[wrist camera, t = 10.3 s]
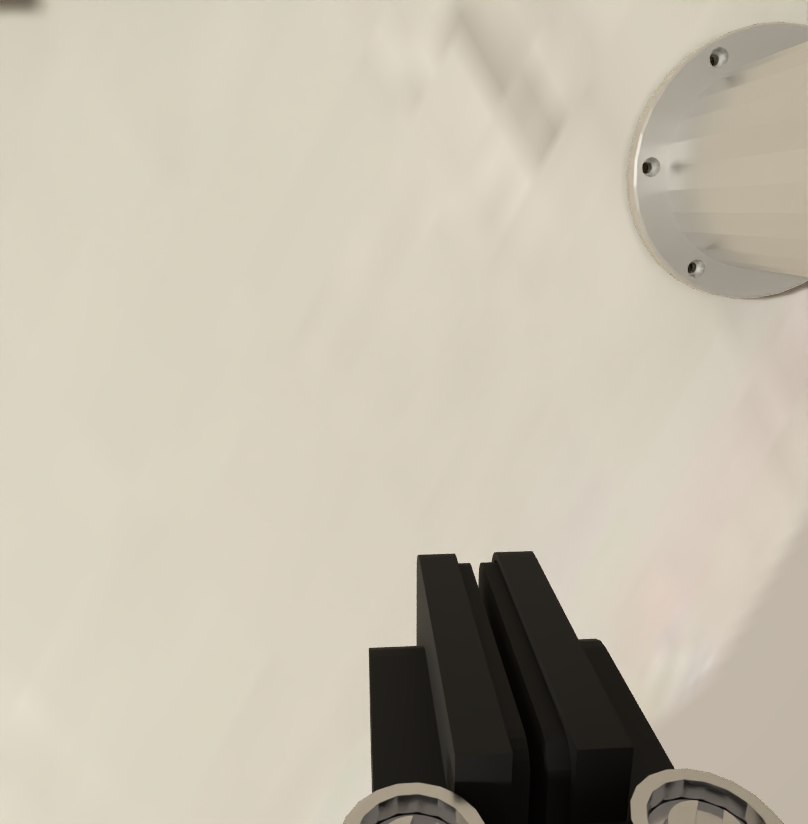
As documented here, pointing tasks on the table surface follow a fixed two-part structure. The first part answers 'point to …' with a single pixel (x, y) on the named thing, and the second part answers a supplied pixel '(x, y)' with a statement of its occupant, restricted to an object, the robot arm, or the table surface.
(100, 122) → the table surface
